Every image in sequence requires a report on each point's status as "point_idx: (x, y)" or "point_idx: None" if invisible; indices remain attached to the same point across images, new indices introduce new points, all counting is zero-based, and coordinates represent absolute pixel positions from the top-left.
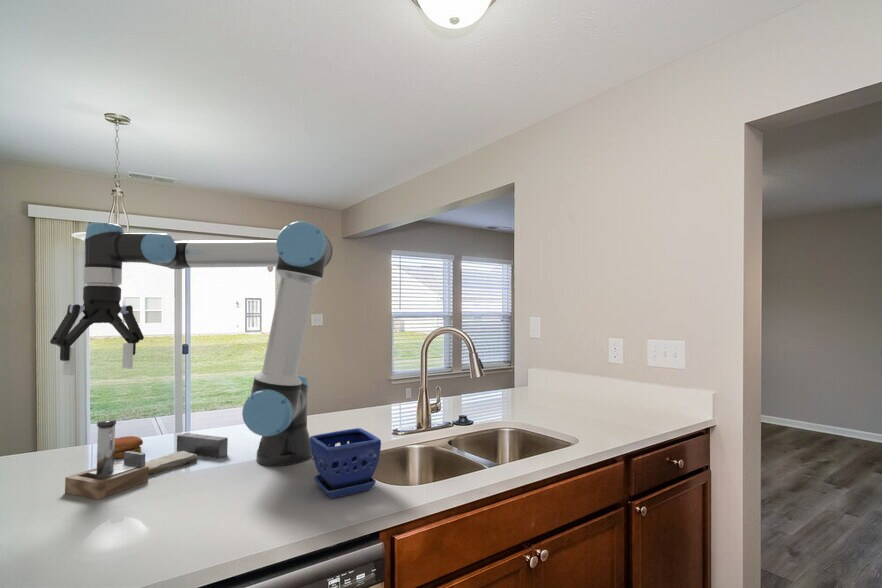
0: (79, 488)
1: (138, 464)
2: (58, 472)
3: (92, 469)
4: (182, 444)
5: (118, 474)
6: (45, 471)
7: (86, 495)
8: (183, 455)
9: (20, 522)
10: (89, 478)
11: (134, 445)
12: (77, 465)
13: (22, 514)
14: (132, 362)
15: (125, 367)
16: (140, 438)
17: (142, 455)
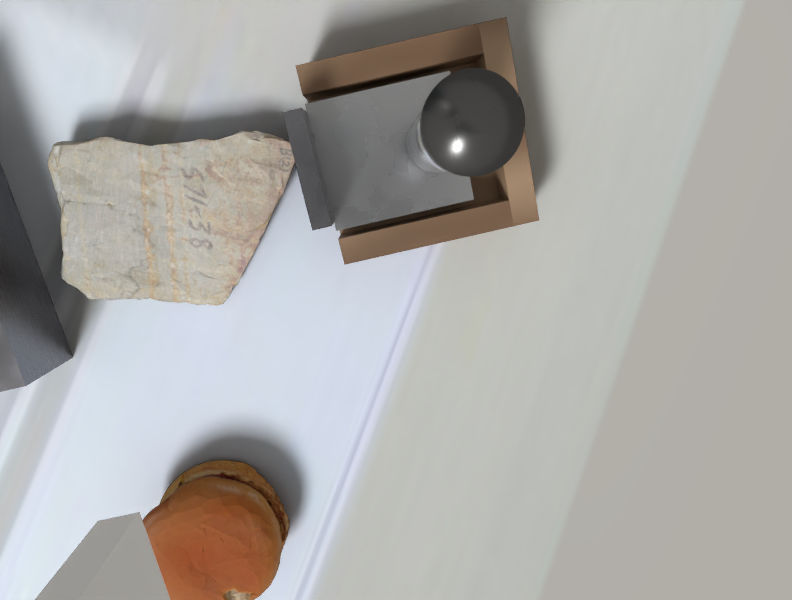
0: None
1: (311, 130)
2: (447, 474)
3: (443, 237)
4: (37, 337)
5: (415, 67)
6: (466, 521)
7: None
8: (96, 193)
9: (699, 41)
10: None
11: (190, 485)
12: (379, 506)
13: (669, 116)
14: (51, 579)
15: (161, 592)
16: None
17: (297, 110)
